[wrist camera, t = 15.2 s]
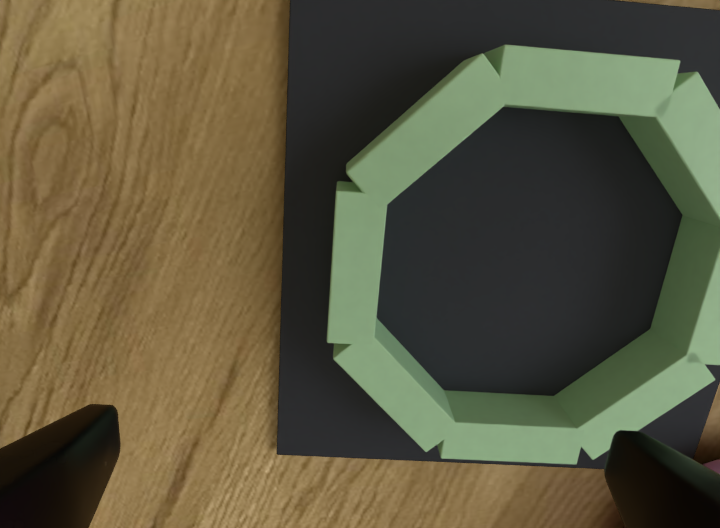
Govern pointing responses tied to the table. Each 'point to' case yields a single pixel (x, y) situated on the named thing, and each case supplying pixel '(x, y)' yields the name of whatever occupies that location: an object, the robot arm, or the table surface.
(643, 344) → the ring
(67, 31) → the table surface
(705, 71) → the mat
